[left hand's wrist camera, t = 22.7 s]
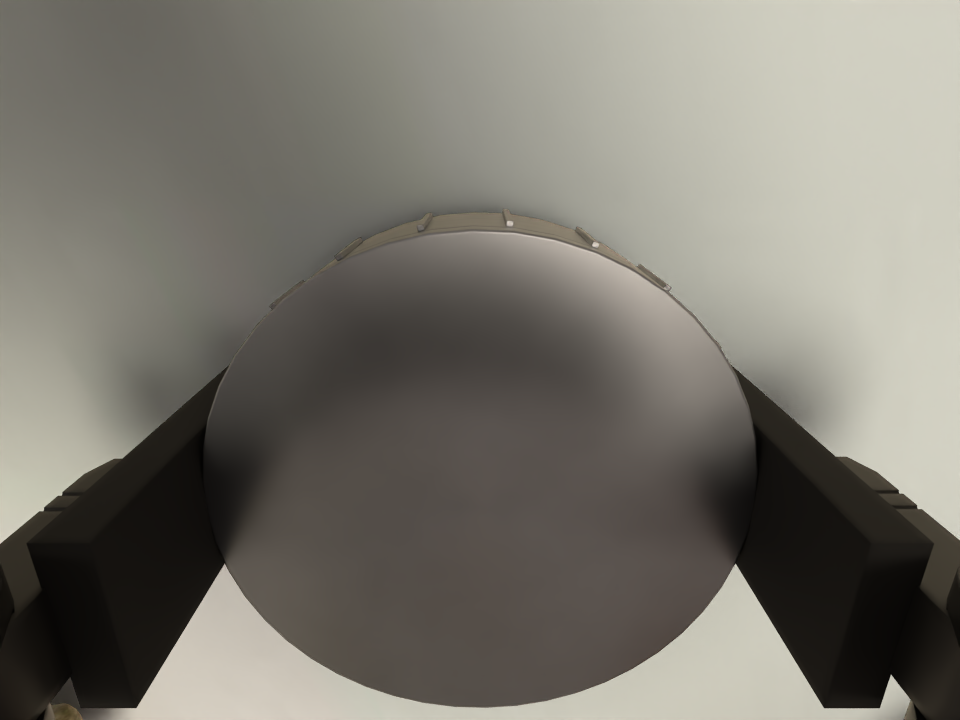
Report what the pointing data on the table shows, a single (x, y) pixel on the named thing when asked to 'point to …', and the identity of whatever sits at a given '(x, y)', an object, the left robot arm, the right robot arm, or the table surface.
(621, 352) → the lid
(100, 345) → the table surface
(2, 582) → the left robot arm
